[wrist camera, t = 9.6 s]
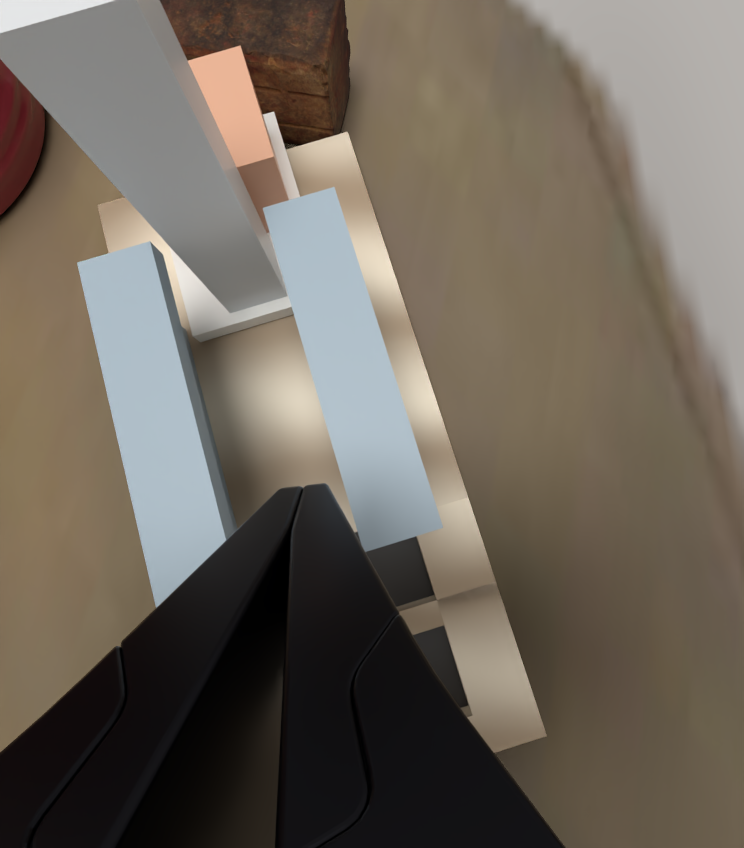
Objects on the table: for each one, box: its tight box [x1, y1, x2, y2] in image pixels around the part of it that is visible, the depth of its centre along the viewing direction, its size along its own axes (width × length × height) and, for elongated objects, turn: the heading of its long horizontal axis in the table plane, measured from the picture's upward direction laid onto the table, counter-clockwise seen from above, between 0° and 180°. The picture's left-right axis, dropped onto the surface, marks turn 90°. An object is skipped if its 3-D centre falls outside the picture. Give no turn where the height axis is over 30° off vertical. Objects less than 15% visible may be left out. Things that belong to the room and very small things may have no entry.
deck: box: [97, 132, 547, 753], centre depth 19 cm, size 27×12×1 cm, turn 17°
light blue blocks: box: [77, 187, 443, 608], centre depth 16 cm, size 10×8×6 cm
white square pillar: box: [0, 0, 300, 342], centre depth 14 cm, size 9×6×12 cm, turn 17°
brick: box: [160, 0, 350, 145], centre depth 20 cm, size 11×4×5 cm, turn 79°
